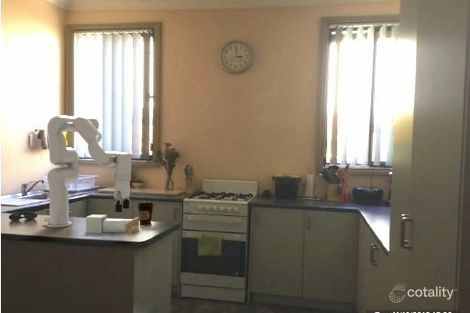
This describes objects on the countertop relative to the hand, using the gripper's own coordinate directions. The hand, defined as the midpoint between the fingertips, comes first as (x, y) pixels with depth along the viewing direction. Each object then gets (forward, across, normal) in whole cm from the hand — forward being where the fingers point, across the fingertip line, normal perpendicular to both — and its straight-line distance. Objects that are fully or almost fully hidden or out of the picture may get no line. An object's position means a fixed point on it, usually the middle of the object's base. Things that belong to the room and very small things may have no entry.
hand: (122, 210), depth 215 cm
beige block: (+11, 0, +6) cm, 12 cm away
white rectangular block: (+11, 0, -2) cm, 11 cm away
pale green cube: (+12, 0, -13) cm, 18 cm away
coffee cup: (+11, -18, +7) cm, 22 cm away
